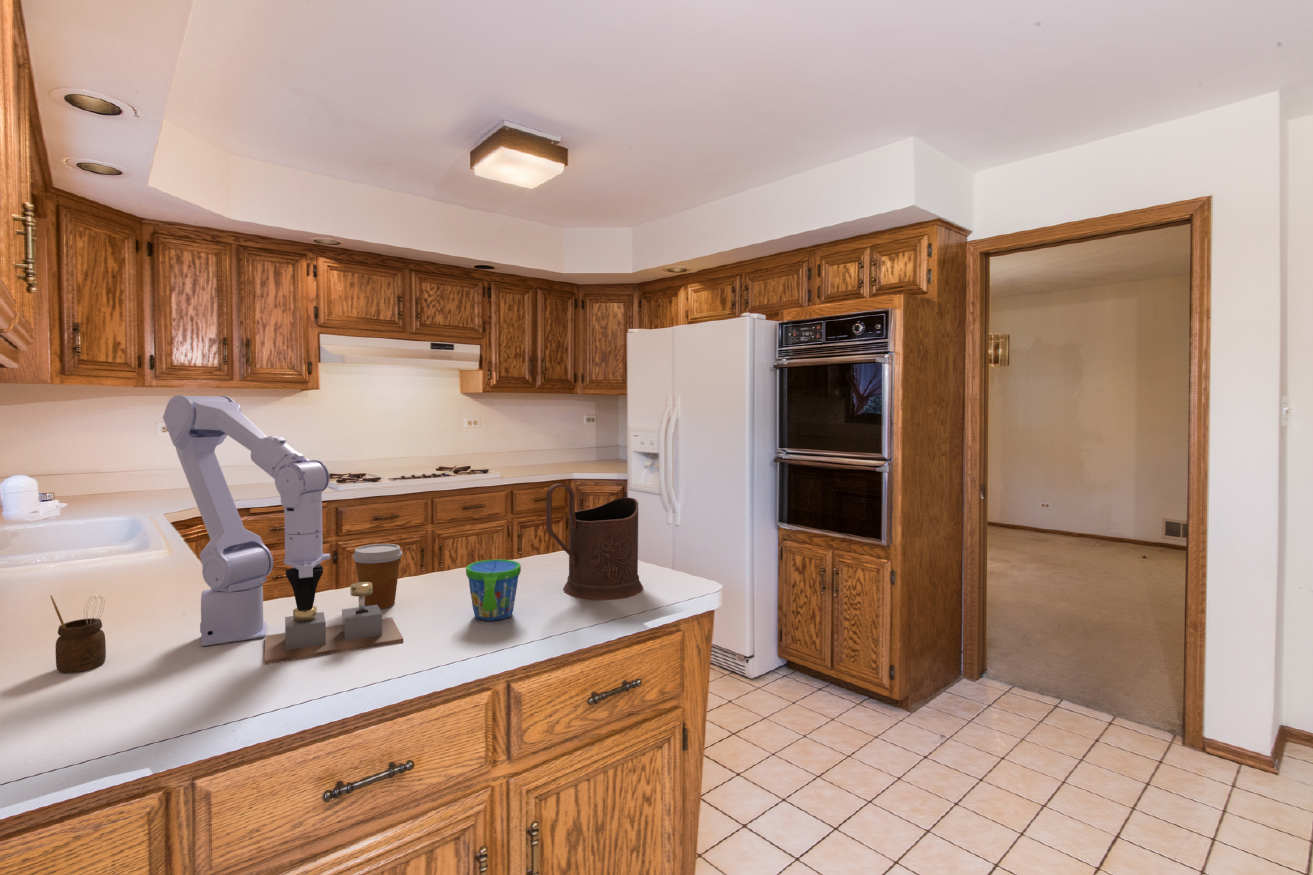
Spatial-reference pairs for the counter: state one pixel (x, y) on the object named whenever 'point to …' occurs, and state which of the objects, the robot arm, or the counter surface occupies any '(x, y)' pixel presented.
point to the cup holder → (600, 548)
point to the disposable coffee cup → (379, 572)
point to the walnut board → (329, 643)
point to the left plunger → (305, 614)
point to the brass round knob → (361, 593)
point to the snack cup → (493, 588)
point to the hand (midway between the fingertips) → (305, 609)
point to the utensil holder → (80, 643)
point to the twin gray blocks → (315, 629)
